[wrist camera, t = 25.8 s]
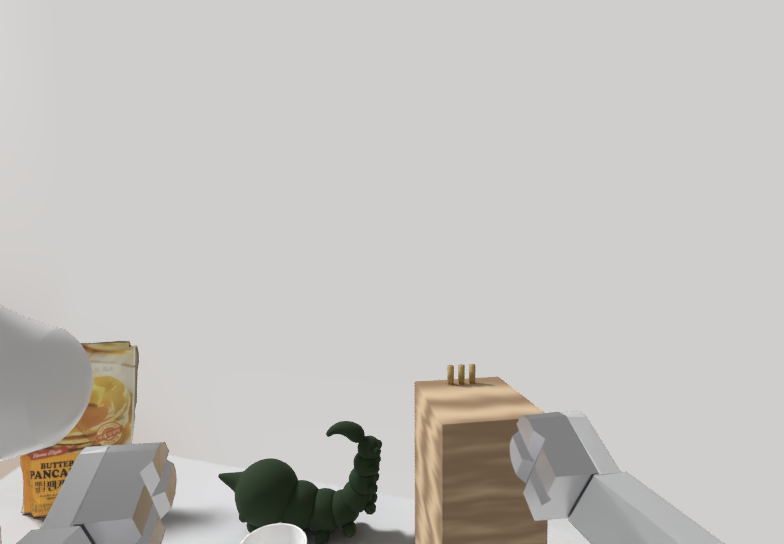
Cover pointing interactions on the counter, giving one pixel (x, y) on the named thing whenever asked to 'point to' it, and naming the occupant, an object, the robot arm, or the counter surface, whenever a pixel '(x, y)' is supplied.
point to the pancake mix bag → (86, 424)
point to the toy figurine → (308, 491)
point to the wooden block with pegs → (470, 463)
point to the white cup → (276, 535)
